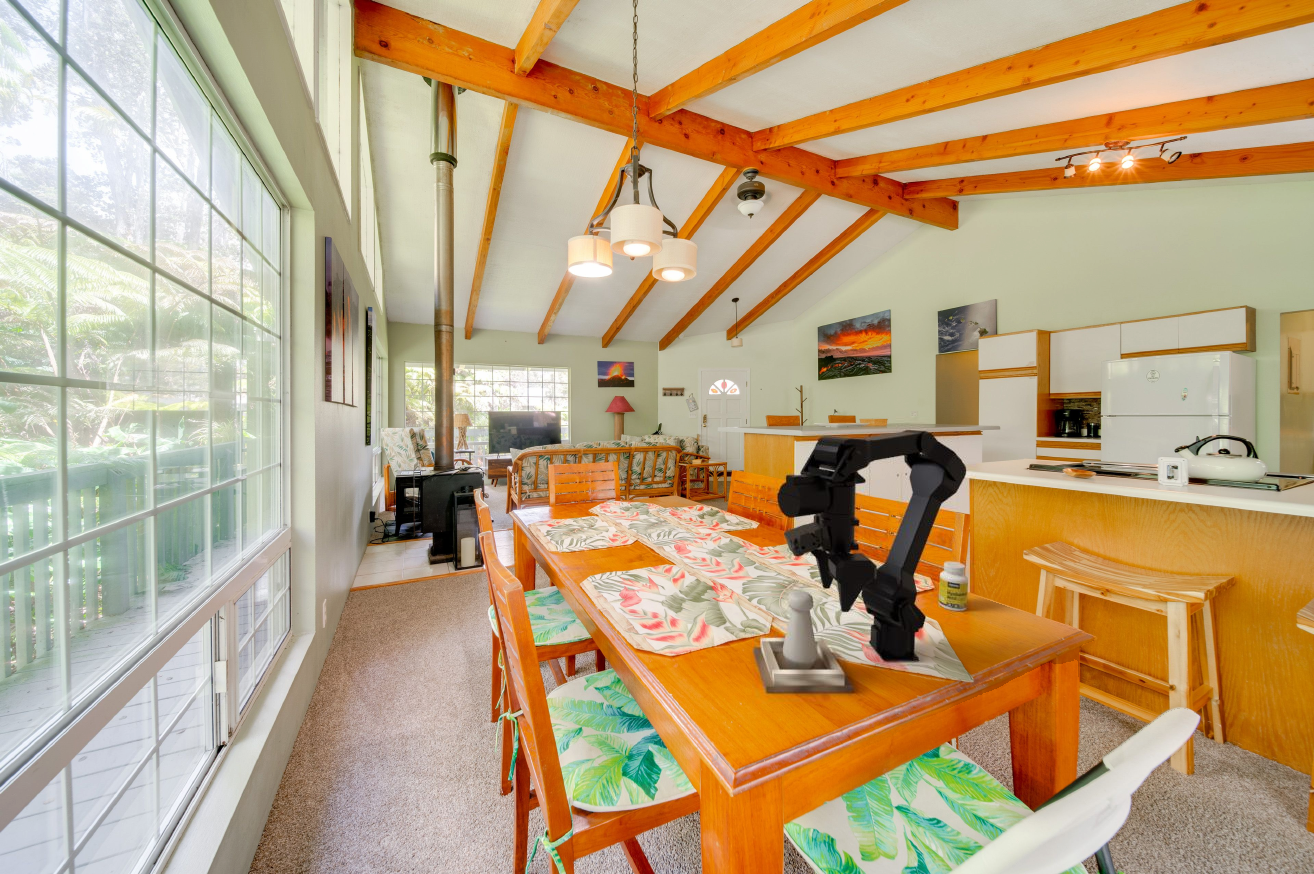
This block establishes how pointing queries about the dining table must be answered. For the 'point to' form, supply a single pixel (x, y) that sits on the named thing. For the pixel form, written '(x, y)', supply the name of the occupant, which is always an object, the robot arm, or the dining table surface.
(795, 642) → the salt shaker
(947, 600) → the supplement bottle
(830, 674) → the shaker stand
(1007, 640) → the dining table surface
